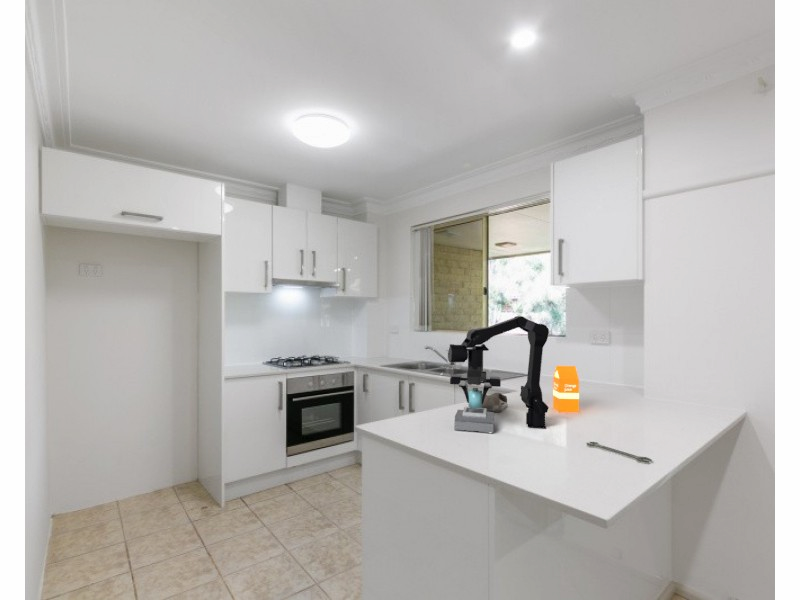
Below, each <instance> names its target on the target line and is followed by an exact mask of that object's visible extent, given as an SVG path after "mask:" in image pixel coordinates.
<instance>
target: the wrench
mask: <svg viewBox="0 0 800 600" xmlns="http://www.w3.org/2000/svg"><path fill="white" fill-rule="evenodd" d="M586 447H588V448H592V449H599V450H601V451H605V452H607V451H608V453H611V452H612V454H614V453H615V454H614V455H617V454H618V456H620V455H621V456H620V457H625V458H628V459H631V460H634V461H636V462H637V463H639V464H642V465H643V464H644V465H650V464H653V460H652V459H651V458H650V457H647V456H639V455H636V454H632V453H629V452H626V451H625V452H624V451H622V450H618V449H616V448H612V447H609V446H606V445H602V444H600V443H599V442H595V441H589V442H586Z"/></svg>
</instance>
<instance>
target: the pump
mask: <svg viewBox="0 0 800 600" xmlns="http://www.w3.org/2000/svg"><path fill="white" fill-rule="evenodd" d="M482 393H483V391H482V390H480V389H479V388H478V387H472V389H468V394H469V403H468V407H470V408H482Z"/></svg>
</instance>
